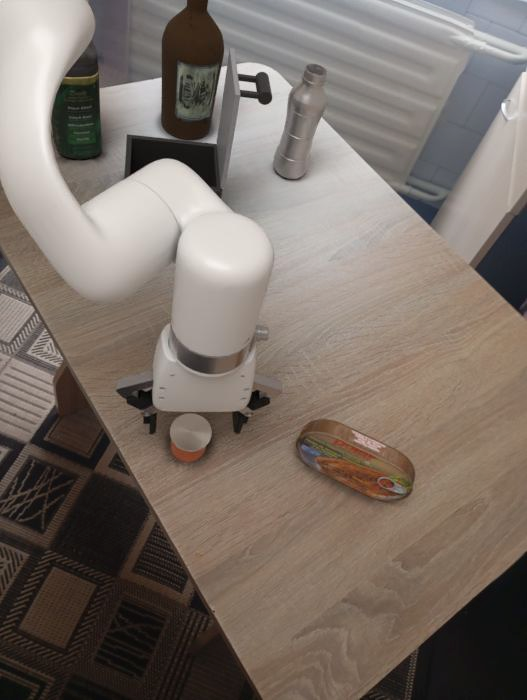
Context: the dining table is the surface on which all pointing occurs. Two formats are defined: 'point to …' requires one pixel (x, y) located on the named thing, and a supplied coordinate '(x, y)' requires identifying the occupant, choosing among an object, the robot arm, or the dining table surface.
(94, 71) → the coffee jar
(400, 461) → the tin
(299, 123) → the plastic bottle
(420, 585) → the dining table surface
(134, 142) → the dark brown box
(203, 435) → the coffee pod
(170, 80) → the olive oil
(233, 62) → the box lid
